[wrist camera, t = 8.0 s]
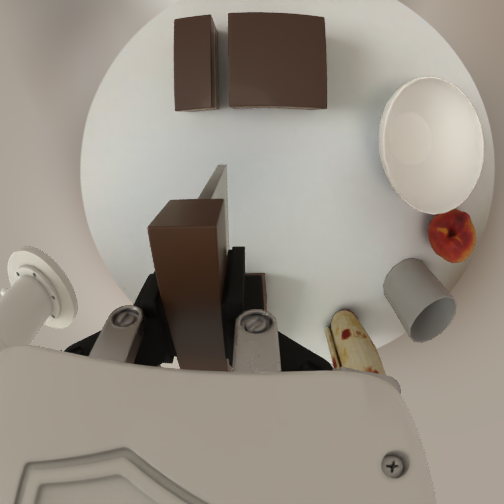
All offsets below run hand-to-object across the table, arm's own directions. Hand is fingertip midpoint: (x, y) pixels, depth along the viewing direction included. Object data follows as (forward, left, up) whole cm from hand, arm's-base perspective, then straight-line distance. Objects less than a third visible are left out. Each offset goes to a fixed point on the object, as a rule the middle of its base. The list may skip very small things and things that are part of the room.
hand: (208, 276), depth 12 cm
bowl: (+23, +6, -21) cm, 32 cm away
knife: (0, 0, -8) cm, 8 cm away
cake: (+5, +13, -21) cm, 25 cm away
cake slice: (-3, +13, -21) cm, 25 cm away
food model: (+17, -24, -21) cm, 36 cm away
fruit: (+31, -6, -21) cm, 38 cm away
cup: (+27, -16, -21) cm, 38 cm away
